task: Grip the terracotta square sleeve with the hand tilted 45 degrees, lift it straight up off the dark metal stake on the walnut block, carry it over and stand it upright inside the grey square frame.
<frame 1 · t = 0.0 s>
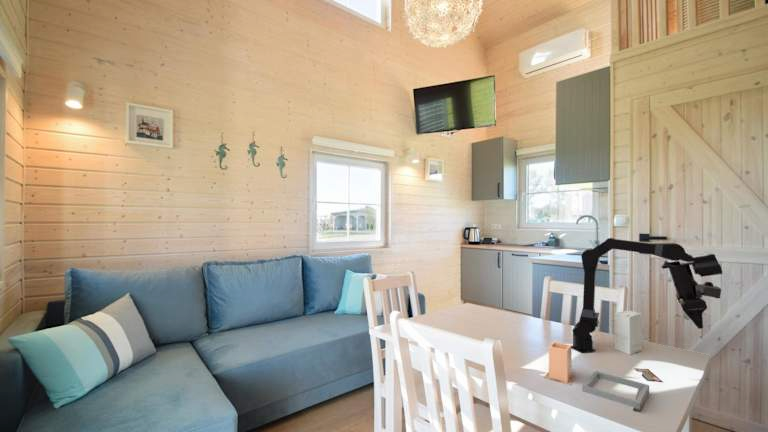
hand: (698, 324, 119), 15 cm above the table, tool pointing down, fingers open, 9 cm apart
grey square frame: (615, 394, 105), on the table
stake block: (560, 380, 114), on the table
chocolate bar: (647, 376, 117), on the table
skincare box: (628, 351, 138), on the table
sleeve: (560, 376, 114), point 1 cm above the table, touching stake block
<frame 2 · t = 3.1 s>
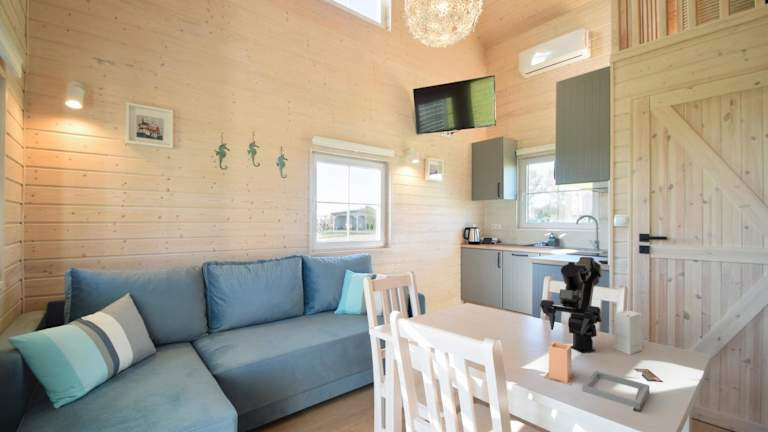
hand: (566, 331, 120), 13 cm above the table, tool tilted 45°, fingers open, 9 cm apart
nothing on the table moved.
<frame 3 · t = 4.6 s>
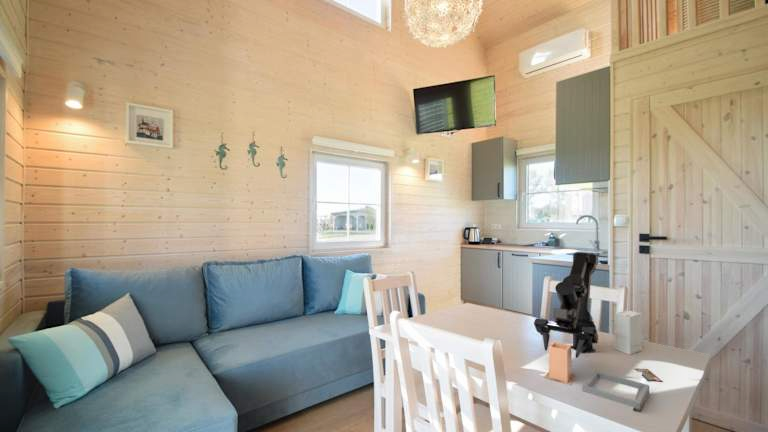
hand: (560, 353, 115), 8 cm above the table, tool tilted 45°, fingers open, 9 cm apart
nothing on the table moved.
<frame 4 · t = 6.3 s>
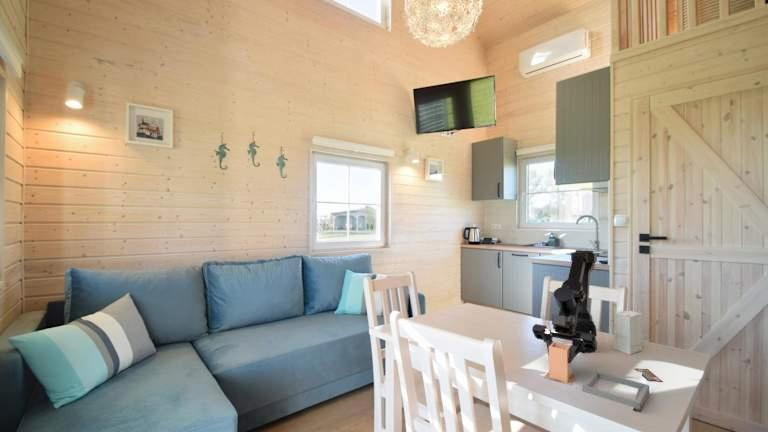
hand: (559, 360, 113), 7 cm above the table, tool tilted 45°, fingers closed on sleeve, 5 cm apart
sleeve: (560, 376, 114), point 1 cm above the table, touching gripper, stake block
everything else where it was.
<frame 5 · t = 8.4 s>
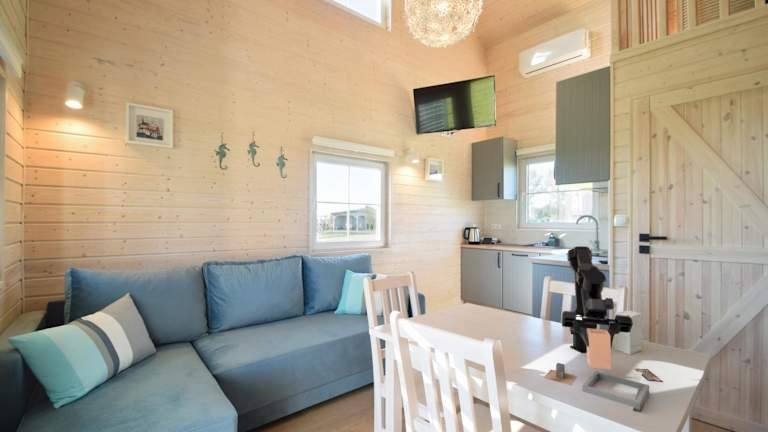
hand: (599, 347, 106), 14 cm above the table, tool tilted 45°, fingers closed on sleeve, 5 cm apart
sleeve: (598, 364, 107), point 8 cm above the table, touching gripper
everything else where it was.
when the fingers open (9 cm above the table, at t = 10.6 s): sleeve drops 2 cm, resting on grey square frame.
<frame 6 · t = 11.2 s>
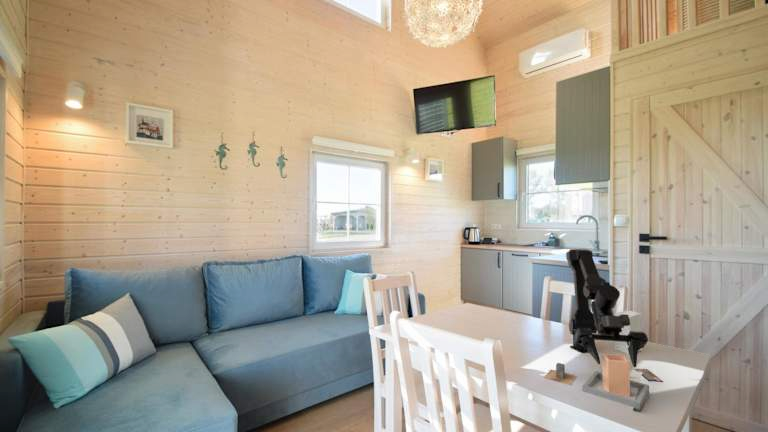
hand: (617, 365, 104), 9 cm above the table, tool tilted 45°, fingers open, 9 cm apart
sleeve: (615, 391, 105), point 1 cm above the table, touching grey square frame
everything else where it was.
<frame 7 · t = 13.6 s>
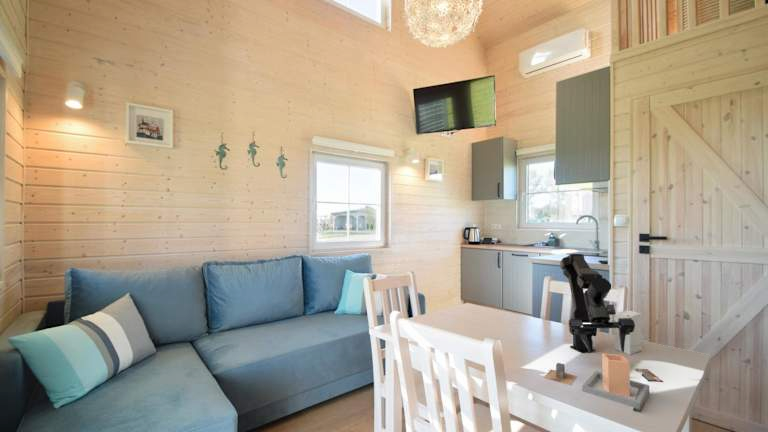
hand: (606, 351, 114), 9 cm above the table, tool tilted 40°, fingers open, 9 cm apart
nothing on the table moved.
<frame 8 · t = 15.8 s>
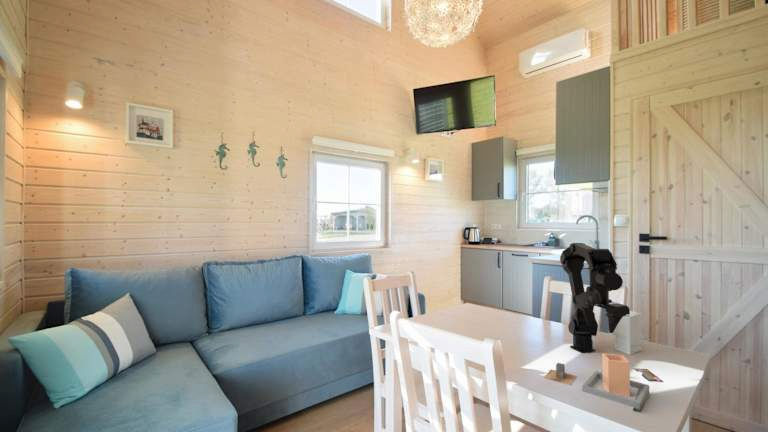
hand: (599, 328, 124), 13 cm above the table, tool pointing down, fingers open, 9 cm apart
nothing on the table moved.
at the end: sleeve inside the target area on the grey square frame (0.1 cm from its centre), point 0.8 cm above the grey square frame's base; sleeve tilted 0°; the gripper is holding nothing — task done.
